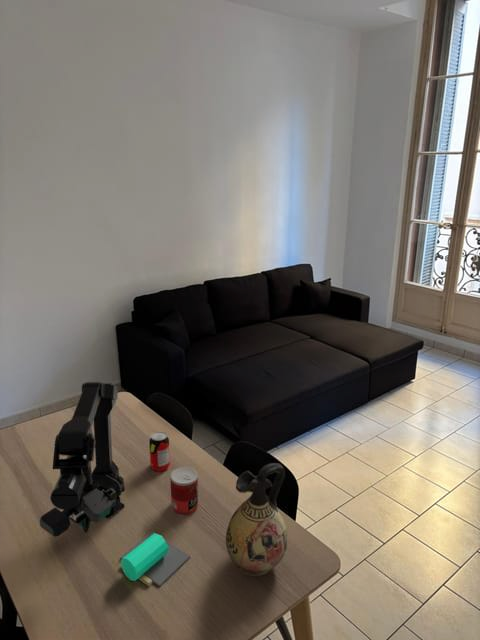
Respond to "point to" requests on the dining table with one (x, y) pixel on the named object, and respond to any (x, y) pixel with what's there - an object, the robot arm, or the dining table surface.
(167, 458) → the beverage can
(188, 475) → the canned food
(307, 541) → the dining table surface
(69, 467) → the robot arm
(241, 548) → the ceramic jug
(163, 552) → the candle
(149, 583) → the strip
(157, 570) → the mat
